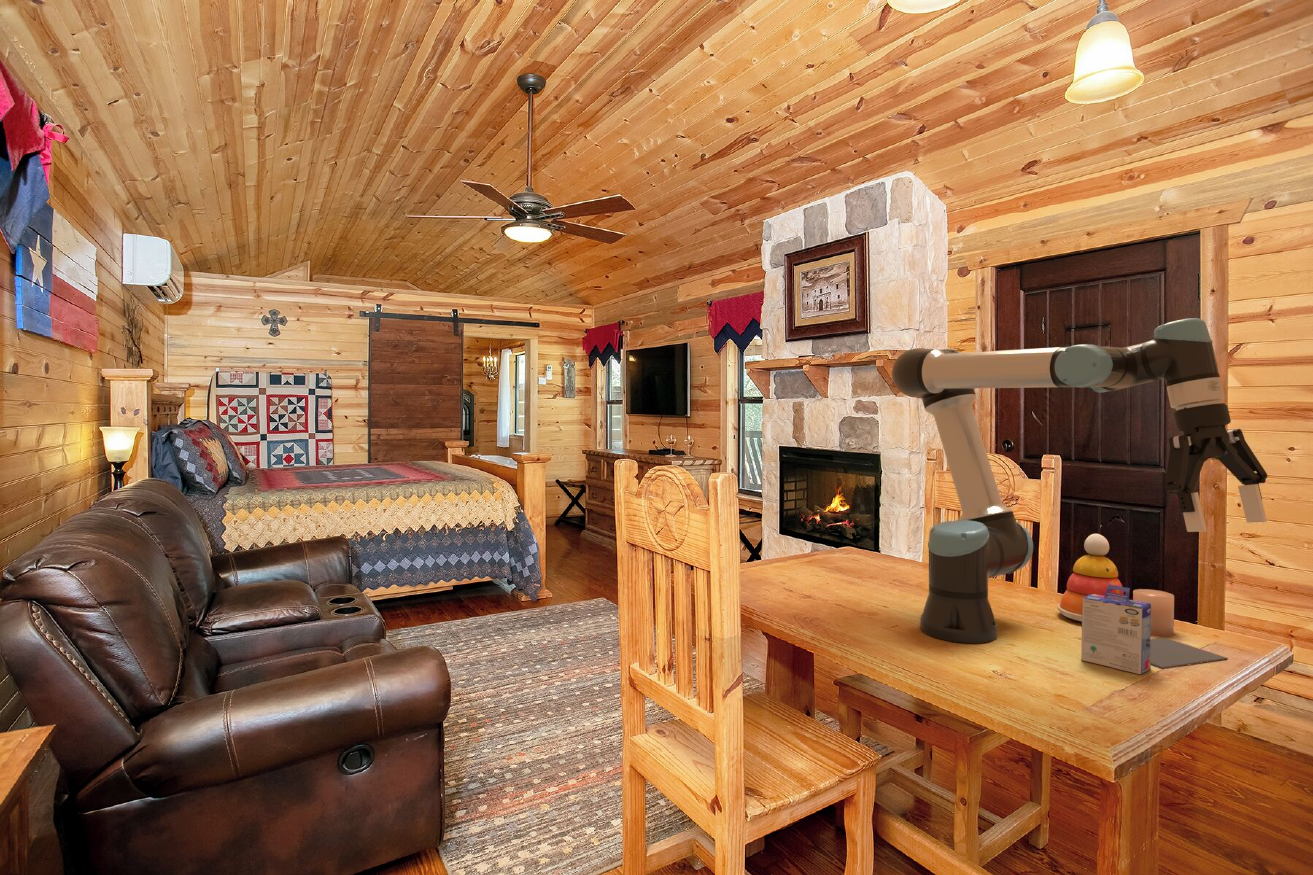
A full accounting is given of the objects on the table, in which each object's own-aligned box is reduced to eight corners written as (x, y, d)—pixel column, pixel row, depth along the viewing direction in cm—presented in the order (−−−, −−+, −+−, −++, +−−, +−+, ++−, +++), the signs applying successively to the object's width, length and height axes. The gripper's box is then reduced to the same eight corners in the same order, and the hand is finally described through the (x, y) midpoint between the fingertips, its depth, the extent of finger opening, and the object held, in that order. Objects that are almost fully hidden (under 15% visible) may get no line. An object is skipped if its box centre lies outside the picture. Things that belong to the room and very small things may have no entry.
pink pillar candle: (1124, 626, 144) (1125, 590, 144) (1149, 623, 146) (1150, 588, 146) (1156, 637, 137) (1156, 599, 137) (1182, 633, 139) (1182, 596, 139)
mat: (1102, 646, 132) (1102, 645, 132) (1164, 638, 136) (1164, 637, 136) (1162, 668, 121) (1162, 667, 121) (1227, 659, 125) (1227, 657, 125)
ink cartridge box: (1152, 668, 121) (1153, 590, 120) (1143, 676, 117) (1143, 595, 117) (1090, 653, 128) (1091, 580, 128) (1080, 660, 125) (1080, 585, 124)
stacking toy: (1098, 632, 141) (1098, 541, 140) (1042, 613, 154) (1043, 530, 154) (1148, 625, 145) (1149, 537, 144) (1090, 607, 158) (1090, 527, 158)
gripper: (1164, 407, 109) (1193, 535, 107) (1274, 396, 116) (1305, 517, 113) (1123, 415, 117) (1149, 535, 114) (1229, 405, 123) (1257, 519, 120)
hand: (1227, 526), depth 113 cm, fingers open, 13 cm apart
